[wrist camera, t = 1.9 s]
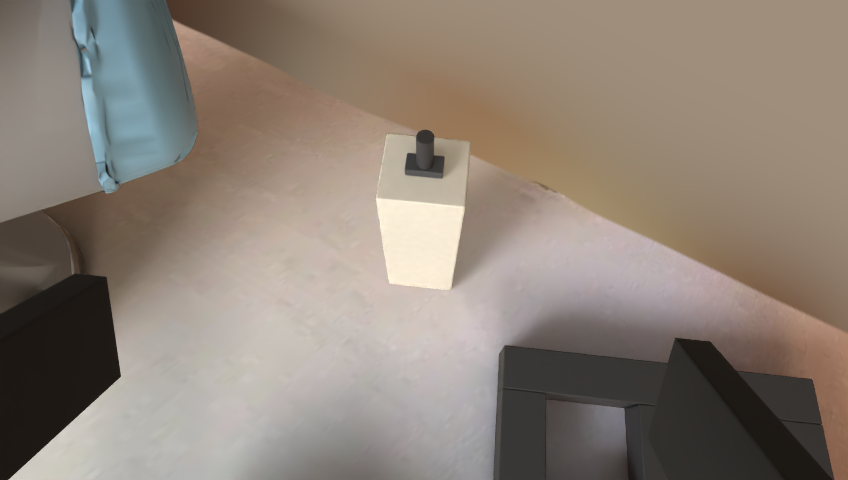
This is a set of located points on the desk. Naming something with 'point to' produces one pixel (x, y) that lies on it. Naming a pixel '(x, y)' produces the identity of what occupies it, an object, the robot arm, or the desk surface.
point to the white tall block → (422, 207)
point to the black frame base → (618, 387)
